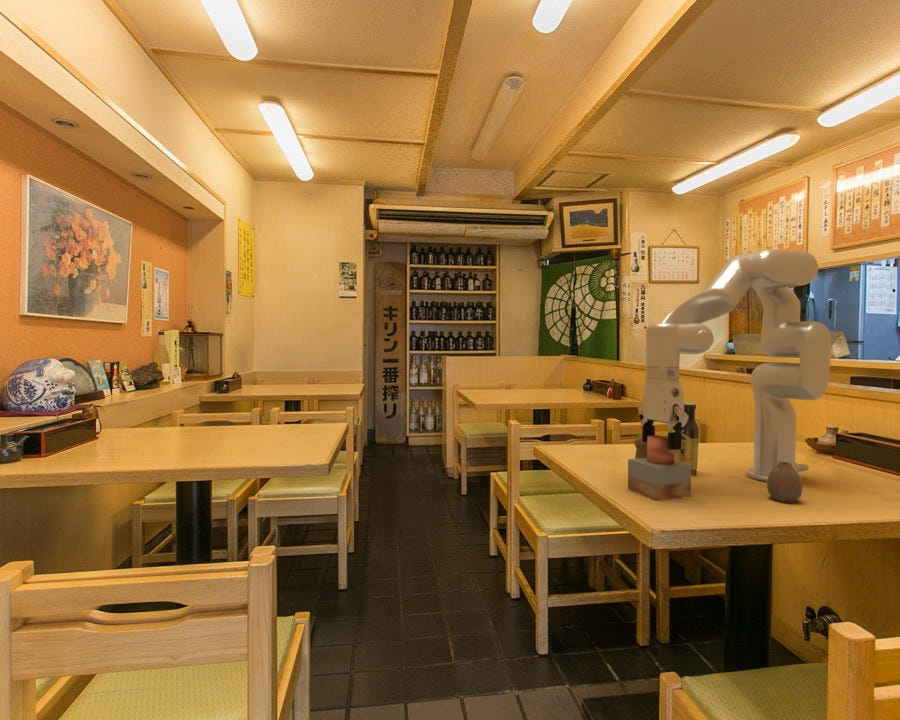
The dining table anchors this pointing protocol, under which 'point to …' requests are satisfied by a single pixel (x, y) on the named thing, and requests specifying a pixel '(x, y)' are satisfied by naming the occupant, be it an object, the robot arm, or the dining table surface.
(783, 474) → the brown egg-shaped piece
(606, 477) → the dining table surface
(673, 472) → the tower top block
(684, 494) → the tower bottom block
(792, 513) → the dining table surface
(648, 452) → the reddish pink cylinder
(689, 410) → the sauce bottle
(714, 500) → the dining table surface
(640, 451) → the cork
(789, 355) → the robot arm
